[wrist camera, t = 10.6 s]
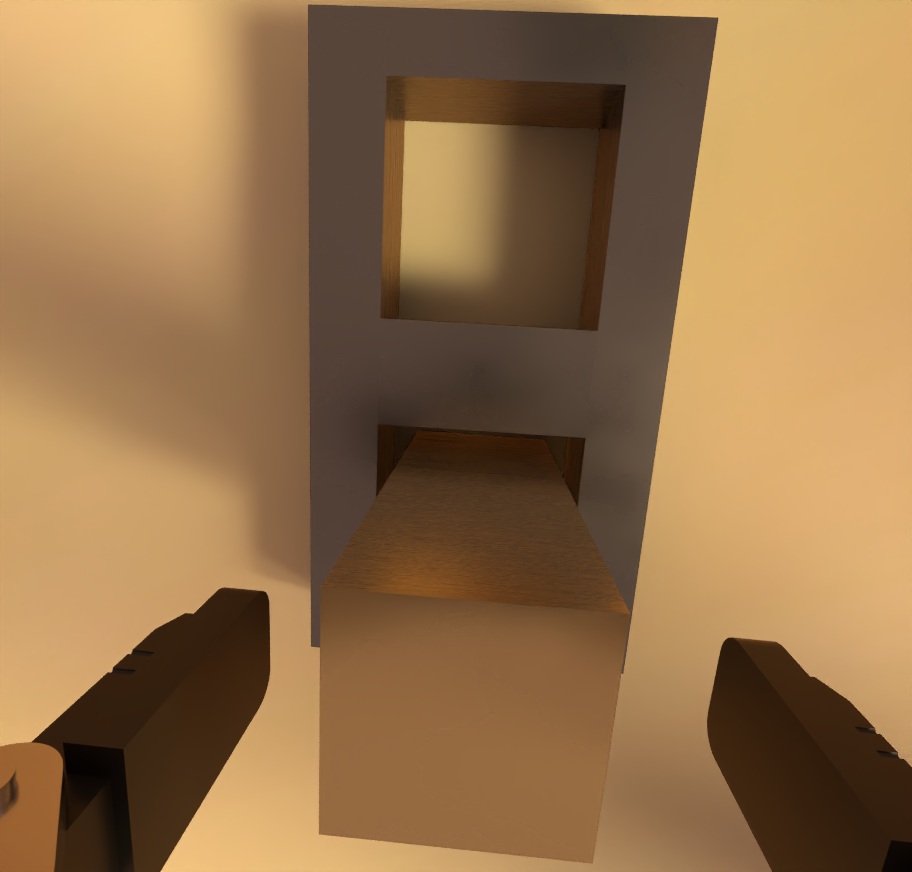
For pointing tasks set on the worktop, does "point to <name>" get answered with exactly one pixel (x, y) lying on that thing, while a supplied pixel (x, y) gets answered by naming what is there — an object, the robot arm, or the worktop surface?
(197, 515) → the worktop surface
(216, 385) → the worktop surface
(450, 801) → the wooden peg
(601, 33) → the block with square holes
